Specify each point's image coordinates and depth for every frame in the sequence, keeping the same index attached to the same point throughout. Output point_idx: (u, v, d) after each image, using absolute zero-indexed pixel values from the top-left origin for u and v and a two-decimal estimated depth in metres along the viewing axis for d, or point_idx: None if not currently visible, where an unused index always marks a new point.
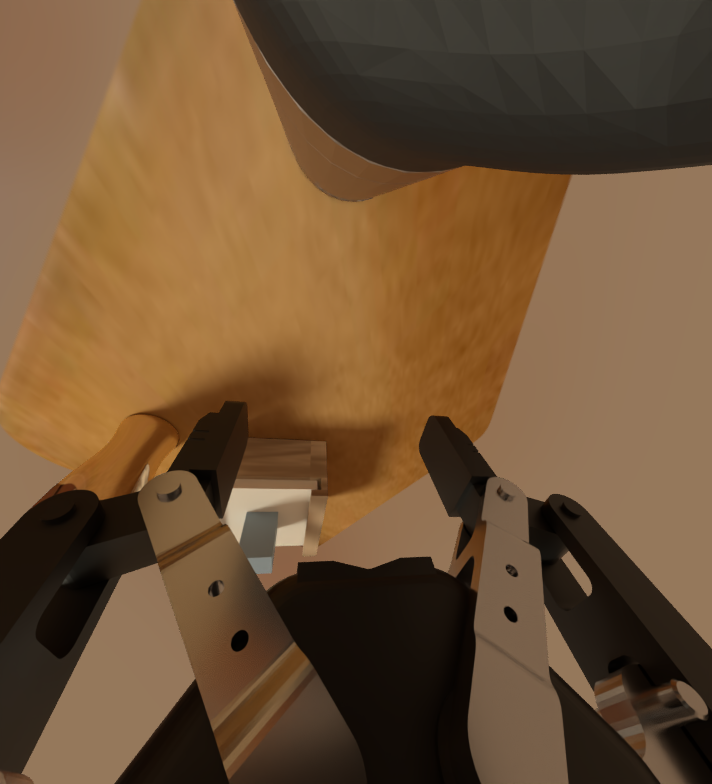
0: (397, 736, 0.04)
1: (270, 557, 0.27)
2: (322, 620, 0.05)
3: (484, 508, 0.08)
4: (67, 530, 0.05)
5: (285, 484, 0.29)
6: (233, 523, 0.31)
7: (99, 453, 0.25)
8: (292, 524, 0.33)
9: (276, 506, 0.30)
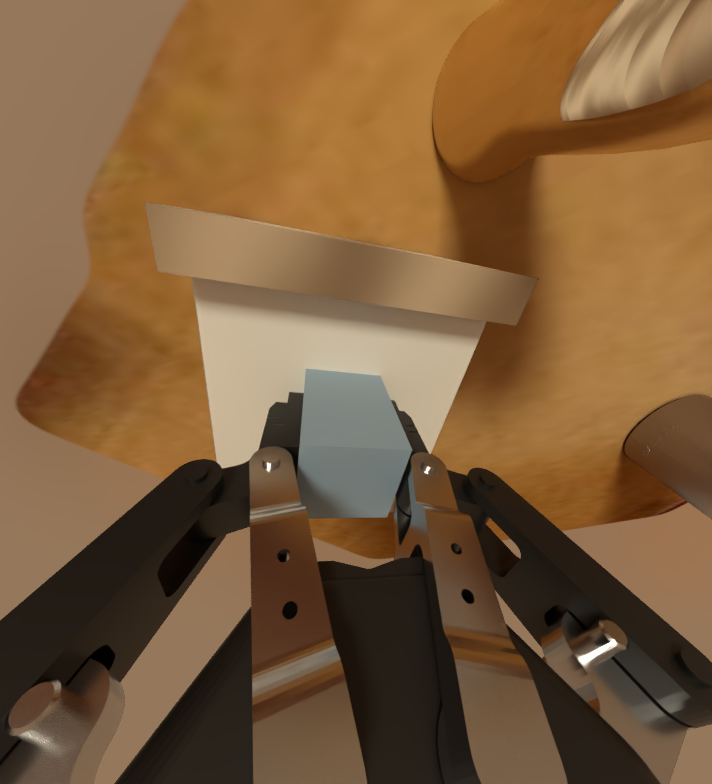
0: (398, 736, 0.04)
1: (385, 514, 0.10)
2: None
3: (415, 490, 0.08)
4: (207, 489, 0.07)
5: None
6: (336, 338, 0.11)
7: None
8: None
9: None
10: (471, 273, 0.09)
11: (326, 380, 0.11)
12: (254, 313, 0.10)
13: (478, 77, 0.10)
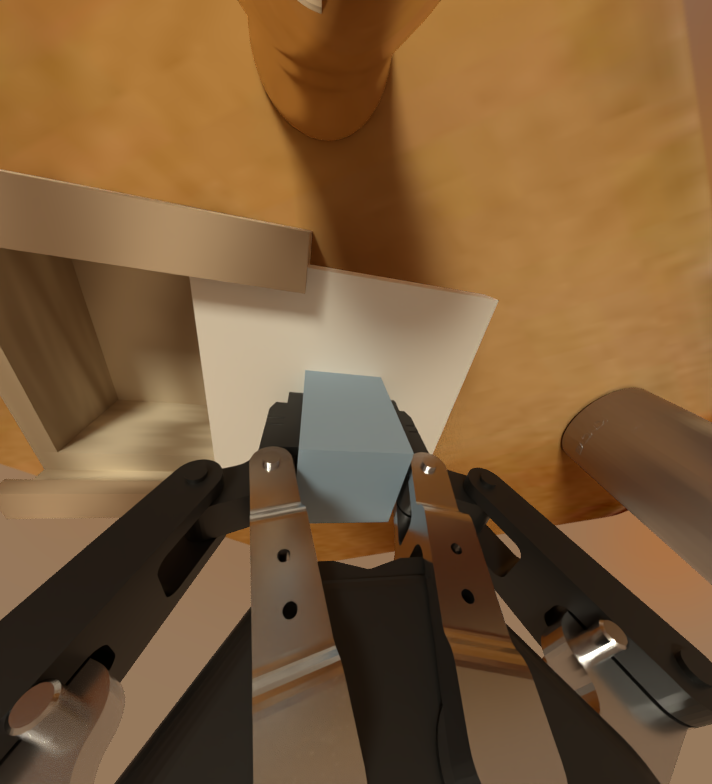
0: (397, 736, 0.04)
1: (386, 519, 0.10)
2: None
3: (415, 490, 0.08)
4: (207, 489, 0.07)
5: None
6: (336, 339, 0.11)
7: None
8: None
9: None
10: (213, 223, 0.08)
11: (326, 382, 0.11)
12: (253, 314, 0.10)
13: None
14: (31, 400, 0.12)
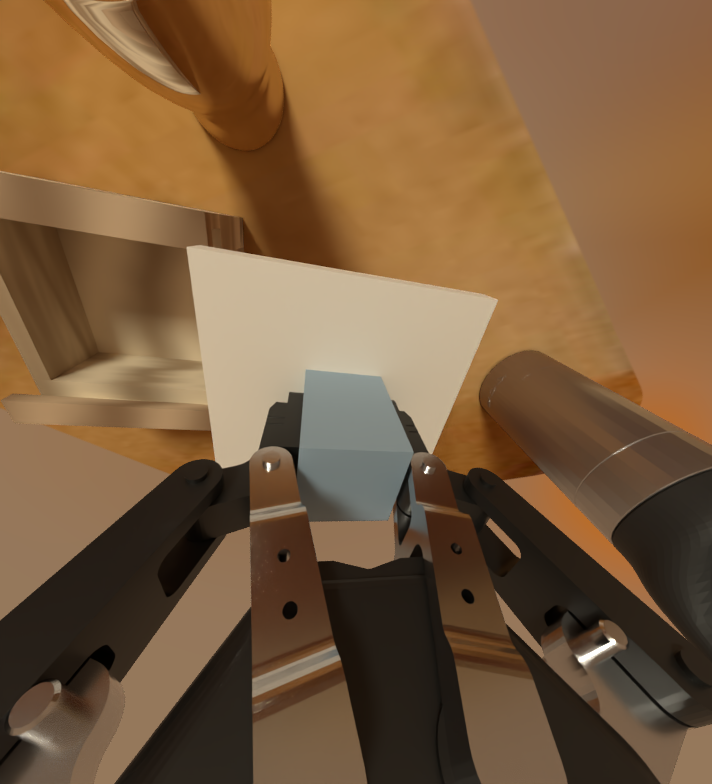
0: (397, 736, 0.04)
1: (386, 517, 0.10)
2: None
3: (415, 490, 0.08)
4: (207, 489, 0.07)
5: None
6: (336, 338, 0.11)
7: None
8: None
9: None
10: (142, 206, 0.13)
11: (326, 381, 0.11)
12: (254, 313, 0.10)
13: None
14: (31, 337, 0.17)
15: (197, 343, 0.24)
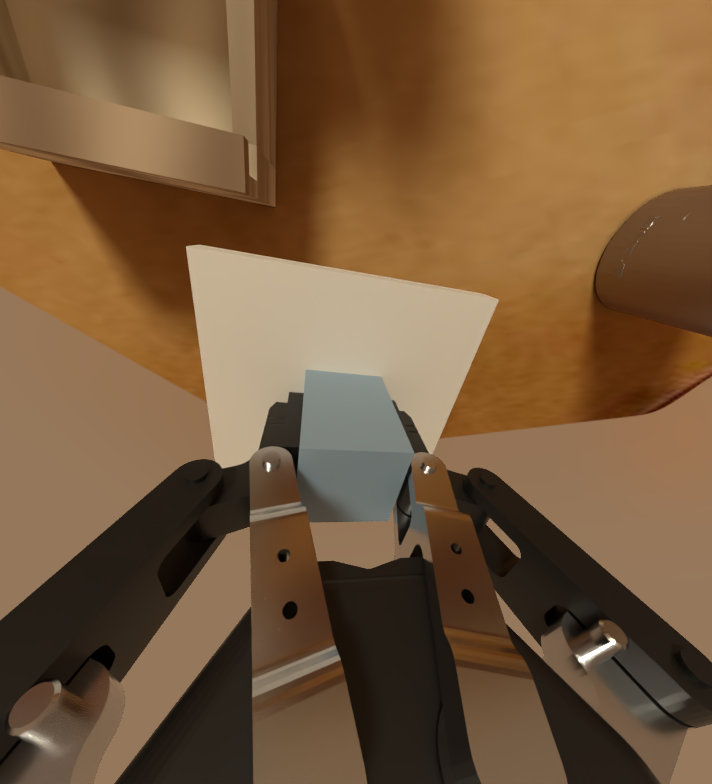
0: (397, 736, 0.04)
1: (386, 518, 0.10)
2: None
3: (415, 490, 0.08)
4: (207, 489, 0.07)
5: None
6: (336, 338, 0.11)
7: None
8: None
9: None
10: None
11: (326, 381, 0.11)
12: (253, 313, 0.10)
13: None
14: None
15: (198, 108, 0.15)
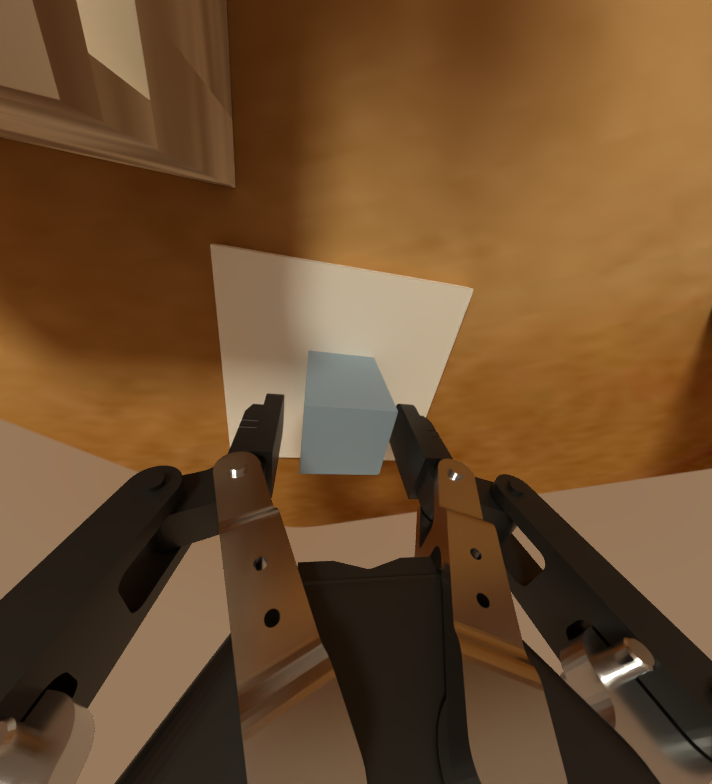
0: (397, 736, 0.04)
1: (377, 472, 0.12)
2: (322, 620, 0.05)
3: (440, 494, 0.08)
4: (163, 498, 0.06)
5: None
6: (334, 323, 0.13)
7: None
8: None
9: None
10: None
11: (326, 359, 0.13)
12: (264, 300, 0.12)
13: None
14: None
15: None
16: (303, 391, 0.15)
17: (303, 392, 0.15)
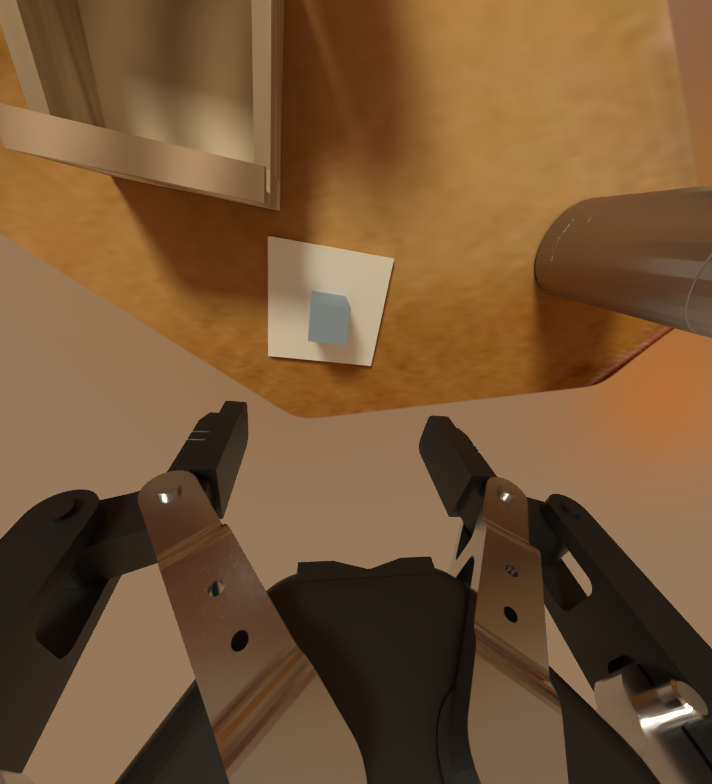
0: (397, 736, 0.04)
1: (344, 343, 0.25)
2: (322, 620, 0.05)
3: (484, 508, 0.08)
4: (67, 530, 0.05)
5: None
6: (324, 276, 0.26)
7: None
8: None
9: (350, 327, 0.29)
10: None
11: (320, 294, 0.26)
12: (290, 263, 0.25)
13: None
14: (27, 33, 0.13)
15: (224, 139, 0.20)
16: (308, 315, 0.28)
17: (308, 315, 0.28)
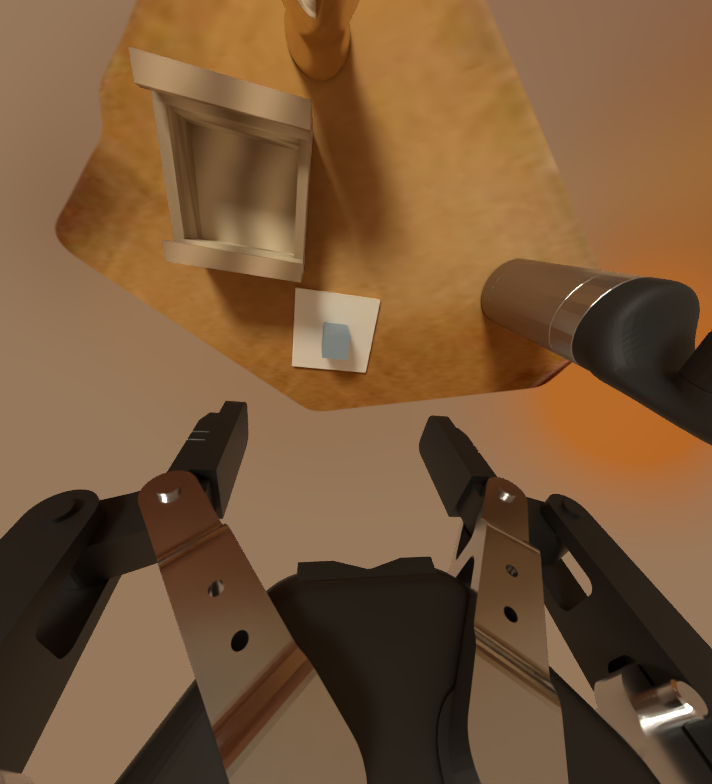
0: (397, 736, 0.04)
1: (346, 359, 0.37)
2: (322, 620, 0.05)
3: (484, 508, 0.08)
4: (67, 530, 0.05)
5: None
6: (332, 312, 0.38)
7: None
8: None
9: (350, 346, 0.41)
10: (276, 94, 0.21)
11: (330, 324, 0.38)
12: (310, 304, 0.37)
13: None
14: (179, 201, 0.26)
15: (272, 233, 0.32)
16: (321, 338, 0.40)
17: (321, 338, 0.40)
